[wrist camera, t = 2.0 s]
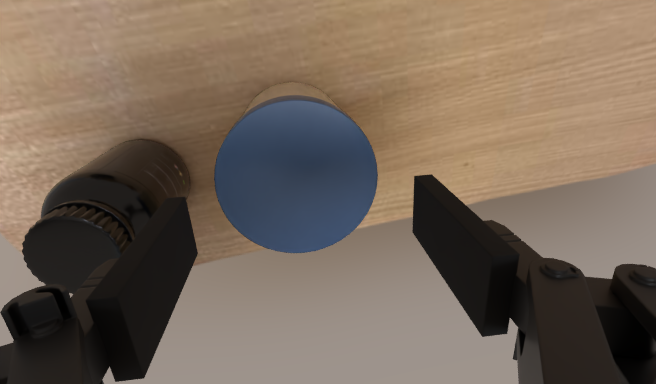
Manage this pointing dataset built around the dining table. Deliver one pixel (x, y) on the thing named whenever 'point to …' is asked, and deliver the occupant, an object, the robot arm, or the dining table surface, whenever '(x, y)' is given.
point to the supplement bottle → (101, 211)
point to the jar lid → (295, 174)
